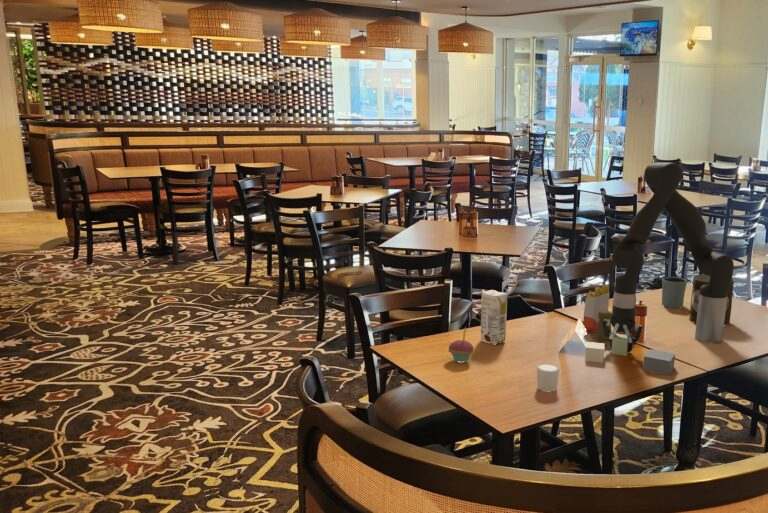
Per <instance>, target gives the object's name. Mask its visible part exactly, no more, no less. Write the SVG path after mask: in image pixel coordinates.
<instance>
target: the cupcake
mask: <svg viewBox="0 0 768 513" xmlns="http://www.w3.org/2000/svg"><path fill="white" fill-rule="evenodd" d="M466 328H467V326H465V327H464V328H463V335H462V340H460V339H459V340H455V341H453V342H452V343H450V344H449V346H448V352H449V353H450V354H451V355H452V359H453V361H454V360H455V361H461V362H462V361H467V360H468V361H469V358H470V356H471V354H472V353H473V351H474V346H473V345H472V343H470V341H468V340H465V339H466V333H467V332H466V331H467V329H466ZM455 361H454V362H455ZM468 361H467V362H468Z"/></svg>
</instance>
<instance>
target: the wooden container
mask: <svg viewBox="0 0 768 513" xmlns="http://www.w3.org/2000/svg"><path fill="white" fill-rule="evenodd" d="M709 281H710V276H707V275H705V274H703V273H701V274H697V275H694V276H693V277H692V291H691V299H690V308H689V318H688V319H689V321H690V322H692V321H693V323H694V322H695V323H694V324H696V322H697V312H698V303H699V292H700V287H701V286H703V285H708V284H709ZM733 290H734V279H733V278H732V281H731V287H730V289H729V291H728V294H727V301H726V311H725V320H724V325H727V324H729V325H730V323H731V322H730V321H731V315H732V314H731V313H732V306H733V305H732V304H733V293H734V292H733ZM727 326H728V325H727Z"/></svg>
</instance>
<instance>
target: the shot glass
mask: <svg viewBox="0 0 768 513" xmlns="http://www.w3.org/2000/svg"><path fill="white" fill-rule="evenodd" d="M559 374H560V367H559V366H558V365H556V364H553V363H539V364H537V365H536V379H537V380H536V381H537V389H538V388H540V389H541V390H545V391H554V390H556V391H557V387H558V383H559V382H558V381H559ZM541 390H540V391H541ZM554 392H555V391H554Z"/></svg>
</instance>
